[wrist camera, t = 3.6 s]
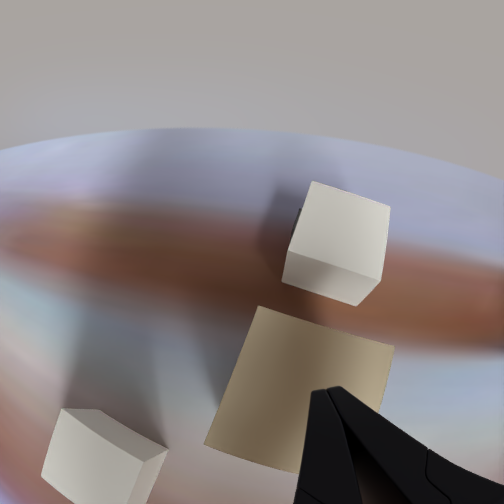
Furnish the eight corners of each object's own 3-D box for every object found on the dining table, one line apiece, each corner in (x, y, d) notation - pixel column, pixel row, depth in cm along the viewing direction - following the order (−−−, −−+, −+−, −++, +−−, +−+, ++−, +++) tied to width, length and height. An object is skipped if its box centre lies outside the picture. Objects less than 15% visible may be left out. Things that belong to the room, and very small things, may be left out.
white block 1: (169, 448, 16) (143, 462, 11) (144, 508, 13) (116, 530, 9) (97, 407, 17) (59, 405, 13) (76, 465, 14) (38, 473, 10)
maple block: (338, 369, 18) (394, 346, 11) (311, 448, 16) (352, 483, 8) (257, 344, 19) (258, 305, 12) (226, 423, 17) (203, 444, 9)
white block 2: (369, 242, 23) (390, 206, 19) (355, 306, 21) (380, 280, 16) (300, 219, 24) (308, 179, 20) (278, 281, 22) (283, 249, 17)
